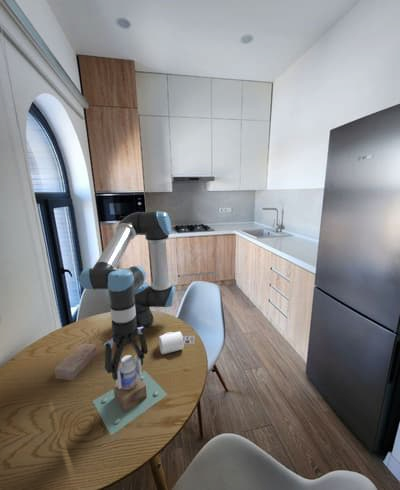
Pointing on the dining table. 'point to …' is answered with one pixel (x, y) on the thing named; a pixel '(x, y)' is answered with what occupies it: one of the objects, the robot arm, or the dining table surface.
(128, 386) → the pill bottle
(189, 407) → the dining table surface
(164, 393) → the build board
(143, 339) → the robot arm
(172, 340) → the mug
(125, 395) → the walnut block
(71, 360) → the brick
